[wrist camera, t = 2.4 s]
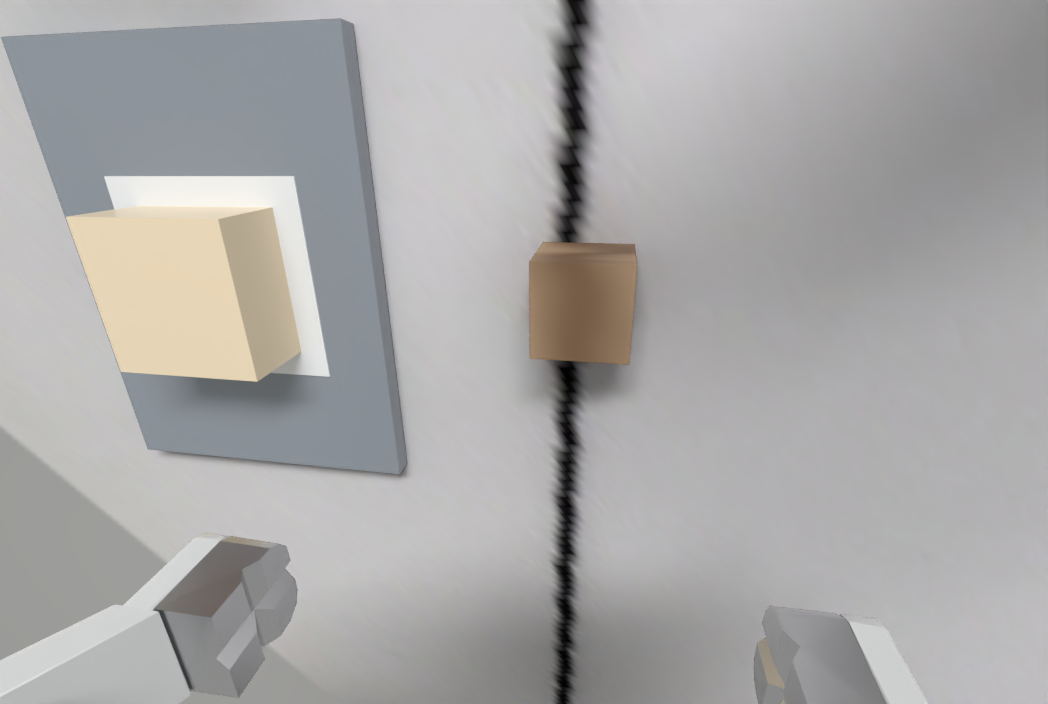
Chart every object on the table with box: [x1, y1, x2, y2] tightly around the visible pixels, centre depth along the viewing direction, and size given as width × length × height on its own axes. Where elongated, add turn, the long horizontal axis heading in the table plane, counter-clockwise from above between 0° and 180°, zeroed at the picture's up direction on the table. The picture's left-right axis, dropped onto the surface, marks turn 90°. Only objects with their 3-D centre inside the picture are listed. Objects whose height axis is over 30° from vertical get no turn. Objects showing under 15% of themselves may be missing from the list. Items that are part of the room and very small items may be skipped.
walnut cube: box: [529, 242, 637, 365], centre depth 24 cm, size 4×4×4 cm
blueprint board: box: [1, 18, 407, 474], centre depth 27 cm, size 18×24×5 cm
